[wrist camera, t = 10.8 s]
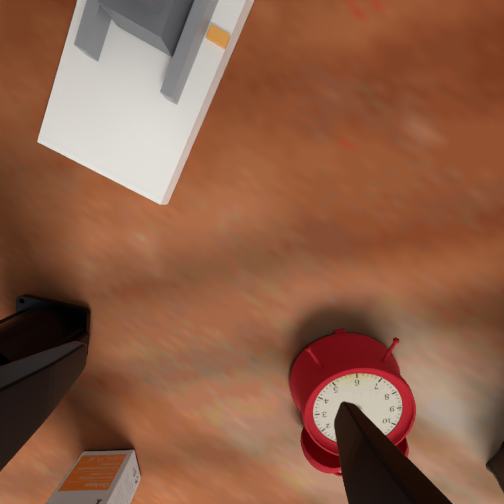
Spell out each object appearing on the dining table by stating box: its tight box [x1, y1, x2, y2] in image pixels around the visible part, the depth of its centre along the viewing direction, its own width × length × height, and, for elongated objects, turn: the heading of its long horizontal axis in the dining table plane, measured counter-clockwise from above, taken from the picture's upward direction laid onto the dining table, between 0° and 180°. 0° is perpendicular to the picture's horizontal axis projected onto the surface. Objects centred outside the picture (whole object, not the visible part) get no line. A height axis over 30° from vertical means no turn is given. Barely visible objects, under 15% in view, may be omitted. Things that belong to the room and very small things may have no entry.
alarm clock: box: [290, 329, 416, 476], centre depth 21 cm, size 10×6×15 cm
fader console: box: [37, 0, 254, 205], centre depth 16 cm, size 22×10×3 cm, turn 153°
